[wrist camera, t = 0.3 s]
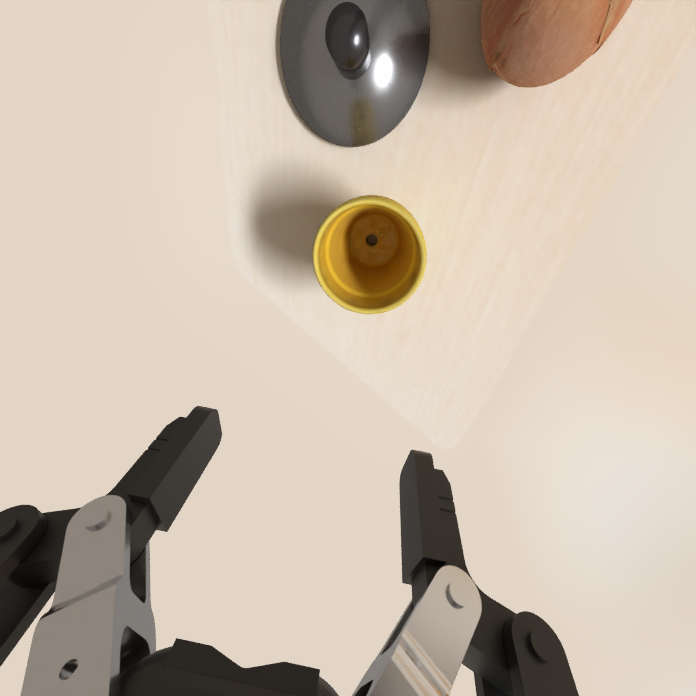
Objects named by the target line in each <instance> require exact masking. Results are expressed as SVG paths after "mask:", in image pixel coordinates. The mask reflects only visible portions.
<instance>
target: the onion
mask: <svg viewBox="0 0 696 696" xmlns="http://www.w3.org/2000/svg"><path fill="white" fill-rule="evenodd" d="M632 1H633V0H483V1H482V7H481V19H480V28H481V42H480V43H481V46H482V49H483V53H484V57H485V61H486V63H487V66H488V69H489V71H490V70H491V69H493V71H494V72H495V73H496V74H497V75H498V76H499V77H500V78H501V79H502V80H504V81H506V82H508V83H510V84H512V85H515V86H518V87H538V86H543V85H547V84H549V83H552V82H554V81H556V80H558V79H560V78H562V77H564V76H566V75H567V74H568V73H570V72H572V71H574V69H576V68H577V67H578V66H579V65H581V64H582V63H583V62H584V61H585V60H586V59H588V58H589V57H590V56H591V55H593V54H594V53H595V52H596V51H597V50H598V49H599V48H600V47H601V46H602V45H603V44H604V42H605V41H606V39H607V38H608V37H609V35H610V34H611V33H612V31H613V30H614V29H615V27H616V26H617V24H618V23H619V21H620V20H621V19H622V17H623V16H624V14H625V13H626V11H627V9H628V8H629V6H630V4H631V3H632Z"/></svg>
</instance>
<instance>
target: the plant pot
mask: <svg viewBox="0 0 696 696" xmlns="http://www.w3.org/2000/svg"><path fill="white" fill-rule="evenodd" d="M372 234H373V235H375V236H376V237H377V243H376V244H375V245H373V246H372V245H369V244H368V243H367V237H368V236H369V235H372ZM426 259H427V252H426V245H425V240H424V237H423V234H422V231H421V229H420V227H419V225H418V223H417V221H416V220H415V218H414V217H413V216H412V214H411V213H410V212H409V211H408V210H407V209H406V208H405V207H403V206H402V205H401V204H399V203H398V202H396V201H394V200H392V199H389V198H387V197H383V196H377V195H366V196H360V197H357V198H354V199H351V200H349V201H347V202H345V203H343V204H341V205H340V206H339V207H337V208H336V209H335V210H333V211H332V212H331V213H330V214H329V215H328V216H327V217H326V219H325V220H324V222H323V223H322V224H321V226H320V228H319V230H318V232H317V234H316V237H315V241H314V245H313V266H314V270H315V274H316V277H317V279H318V282H319V284H320V285H321V287H322V289H323V290H324V291H325V293H326V294H327V295H328V296H329V297H330V298H331V299H332V300H333V301H334V302H335V303H337V304H338V305H340V306H341V307H343V308H345V309H347V310H350V311H353V312H356V313H361V314H378V313H384V312H387V311H390V310H392V309H394V308H396V307H398V306H400V305H401V304H403V303H404V302H405V301H406V300H408V299H409V298H410V296H411V295H412V294H413V293H414V292H415V290H416V289H417V288H418V286H419V284H420V282H421V280H422V278H423V275H424V272H425V267H426Z"/></svg>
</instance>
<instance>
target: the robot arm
mask: <svg viewBox="0 0 696 696" xmlns="http://www.w3.org/2000/svg"><path fill="white" fill-rule="evenodd" d="M221 436H222V431H221V425H220V420H219V414H218V411H217V410H216V409H211V408H207V407H201V406H197V407H195V408H194V409H193V410H192V411H191V413H190V414H189V415H188V416H187V418H184V417H179V418H177V419H176V420H174V421H173V422H171V423H170V424H168V425H167V426H166V427H165V428H164V429H163V430H162V432H161V433H160V434H159V435H158V436H157V438H156V440H154V441H153V442H152V444H151V445H150V446H149V447H148V450H146V451H145V452H144V453H143V455H141V457H140V458H139V459H138V460H137V461H136V463H135V464H134V465H133V466H132V467H131V468H130V470H129V471H128V472H127V473H126V474H125V476H124V477H123V478H122V479H121V480H120V482H119V483H118V484H117V485H116V486H115V487H114V488H113V489H112V490H111V491H110V492H109V493H108V494H107V495H106V496H103V497H99V498H97V499H95V500H93V501H91V502H89V503H87V504H86V505H84V506H83V507H81V508H77V509H70V510H63V511H55V512H47V513H41V512H40V511H39V510H38V509H37V508H36V507H34V506H31V505H19V506H15V507H11V508H9V509H6V510H4V511H2V512H0V666H1V665H2V664H3V662H4V661H5V659H6V658H7V657H8V655H9V654H10V652H11V651H12V650H13V648H14V647H15V646H16V644H17V643H18V641H19V640H20V639H21V637H22V636H23V635H24V633H25V632H26V630H27V629H28V628H29V626H30V625H31V624H32V622H33V621H34V619H35V618H36V617H37V615H38V614H39V612H40V611H41V610H42V608H43V607H44V606H45V604H46V603H47V601H48V600H49V599H50V597H51V596H52V595H53V593H54V592H55V595H54V600H53V604H52V607H51V608H50V610H49V611H48V612H47V613H46V614H44V615H43V616H42V617H41V618H40V620H39V622H38V624H37V626H36V628H35V632H34V635H33V639H32V644H31V649H30V654H29V658H28V663H27V668H26V673H25V677H24V682H23V687H22V692H21V696H339V695H338V694H337V693H336V692H335V690H334V689H333V688H332V687H331V686H330V685H329V684H328V683H327V682H326V681H325V680H324V679H322V678H321V677H319V672H320V670H319V669H315V668H311V667H306V666H301V665H296V664H292V663H288V662H280V663H275V664H269V665H264V666H258V667H252V668H242V667H240V666H239V665H237V664H236V663H234V662H233V661H232V660H230V659H229V658H227V657H226V656H225V655H223V654H222V653H221V652H219V651H218V650H216V649H215V648H213V647H212V646H210V645H205V644H200V643H195V642H191V641H187V640H182V639H177V638H176V641H175V643H174V645H173V646H172V647H168V648H165V649H162V650H159V651H156V638H155V637H156V635H155V622H154V616H153V612H152V609H151V601H150V550H149V540H150V538H151V537H152V535H153V534H154V532H155V531H156V530H161V531H165V532H167V531H168V529H169V528H170V526H171V524H172V523H173V521H174V520H175V518H176V516H177V515H178V513H179V511H180V510H181V508H182V506H183V504H184V503H185V501H186V499H187V498H188V496H189V495H190V493H191V491H192V490H193V488H194V486H195V484H196V483H197V481H198V480H199V478H200V476H201V474H202V473H203V471H204V470H205V468H206V466H207V465H208V463H209V461H210V460H211V458H212V456H213V455H214V453H215V451H216V449H217V448H218V446H219V444H220V441H221ZM400 515H401V547H402V581H403V583H406V584H410V585H412V600H411V601H410V603H409V605H408V606H407V608H406V610H405V611H404V613H403V615H402V616H401V618H400V620H399V621H398V623H397V625H396V626H395V628H394V630H393V631H392V633H391V635H390V636H389V638H388V640H387V641H386V643H385V645H384V646H383V648H382V650H381V651H380V653H379V654H378V656H377V657H376V659H375V660H374V661H373V663H372V664H371V666H370V667H369V669H368V670H367V672H366V674H365V675H364V677H363V678H362V680H361V682H360V683H359V685H358V687H357V689H356V690H355V691H354V693H353V695H352V696H449V694H450V690H451V688H452V685H453V683H454V680H455V678H456V675H457V673H458V670H459V668H460V666H461V663H462V664H463V665H465V666H466V667H468V668H469V669H470V670H472V671H473V672H474V677H475V686H476V693H477V696H579V695H578V692H577V689H576V685H575V682H574V679H573V676H572V673H571V670H570V667H569V663H568V660H567V657H566V654H565V651H564V649H563V647H562V644H561V642H560V640H559V639H558V637H557V635H556V634H555V632H554V631H553V630H552V629H551V627H550V626H549V625H548V624H547V623H546V622H545V621H544V620H543V619H541V618H540V617H539V616H537V615H535V614H533V613H531V612H520V613H518V614H516V613H514V612H512V611H511V610H509V609H508V608H506V607H504V606H503V605H501V604H500V603H498V602H496V601H495V600H493V599H491V598H490V597H488V596H487V595H486V594H484V593H483V592H482V591H481V590H480V589H479V588H478V587H477V585H476V584H475V583H474V581H473V580H472V578H471V576H470V574H469V573H468V570H467V567H466V565H465V560H464V555H463V549H462V544H461V539H460V534H459V528H458V523H457V518H456V514H455V507H454V502H453V496H452V491H451V486H450V483H449V481H448V479H447V477H446V476H445V474H444V472H443V470H438V469H434V465H433V459H432V455H431V454H430V453H426V452H421V451H416V450H411V451H410V454H409V455H408V458H407V460H406V462H405V464H404V466H403V469H402V472H401V475H400ZM73 673H74V674H73Z"/></svg>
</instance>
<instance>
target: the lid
mask: <svg viewBox="0 0 696 696" xmlns="http://www.w3.org/2000/svg"><path fill="white" fill-rule="evenodd" d="M429 36H430V28H429V17H428V10H427V5H426V0H286V4H285V8H284V12H283V18H282V24H281V36H280V53H281V63H282V69H283V75H284V79H285V83H286V86H287V90H288V92H289V95H290V97H291V100H292V102H293V104H294V106H295V108H296V110H297V111H298V113H299V114H300V116H301V117H302V119H303V120H304V121H305V123H306V124H307V125H308V126H309V127H310V128H311V129H312V130H313V131H314V132H315V133H316V134H318V135H319V136H320V137H322V138H323V139H325V140H327V141H329V142H331V143H333V144H337V145H340V146H345V147H360V146H365V145H369V144H371V143H374V142H376V141H378V140H380V139H382V138H383V137H385V136H386V135H387V134H389V133H390V132H391V131H392V130H393V129H394V128H396V127H397V126H398V124H399V123H400V122H401V121H402V120H403V118H404V117H405V116H406V114H407V113H408V111H409V110H410V108H411V106H412V104H413V102H414V101H415V99H416V96H417V94H418V92H419V89H420V87H421V84H422V81H423V77H424V74H425V70H426V65H427V60H428V52H429Z"/></svg>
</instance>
